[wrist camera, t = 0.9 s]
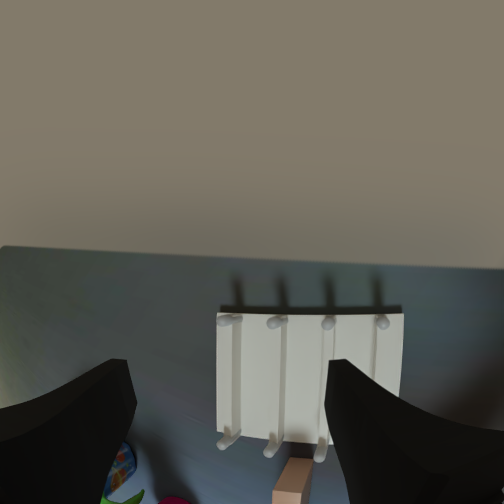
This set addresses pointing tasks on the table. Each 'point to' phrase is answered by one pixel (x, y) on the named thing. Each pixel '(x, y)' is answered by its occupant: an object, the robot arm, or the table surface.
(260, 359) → the dish rack
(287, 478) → the tile
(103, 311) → the table surface
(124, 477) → the snack cup
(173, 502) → the pepper mill
